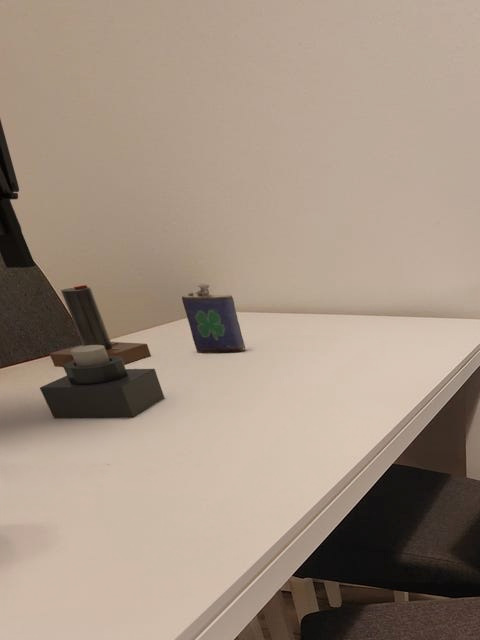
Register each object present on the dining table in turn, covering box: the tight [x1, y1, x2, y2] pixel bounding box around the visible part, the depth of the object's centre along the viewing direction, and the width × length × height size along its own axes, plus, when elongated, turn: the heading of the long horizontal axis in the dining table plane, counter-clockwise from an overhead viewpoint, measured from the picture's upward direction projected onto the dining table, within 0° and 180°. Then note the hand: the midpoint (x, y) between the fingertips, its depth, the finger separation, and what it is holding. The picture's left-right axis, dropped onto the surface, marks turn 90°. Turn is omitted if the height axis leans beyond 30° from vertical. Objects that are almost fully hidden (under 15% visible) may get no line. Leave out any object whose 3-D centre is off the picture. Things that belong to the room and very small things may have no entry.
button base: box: [39, 356, 165, 420], centre depth 80 cm, size 11×9×6 cm
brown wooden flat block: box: [49, 341, 152, 367], centre depth 104 cm, size 12×10×2 cm
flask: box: [181, 283, 246, 354], centre depth 105 cm, size 9×3×11 cm, turn 85°
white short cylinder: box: [71, 345, 110, 366], centre depth 77 cm, size 4×4×2 cm
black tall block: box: [60, 284, 113, 349], centre depth 100 cm, size 4×4×9 cm
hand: (21, 266), depth 72 cm, fingers closed
